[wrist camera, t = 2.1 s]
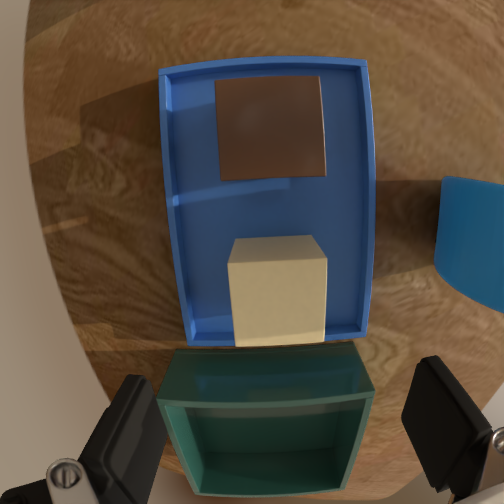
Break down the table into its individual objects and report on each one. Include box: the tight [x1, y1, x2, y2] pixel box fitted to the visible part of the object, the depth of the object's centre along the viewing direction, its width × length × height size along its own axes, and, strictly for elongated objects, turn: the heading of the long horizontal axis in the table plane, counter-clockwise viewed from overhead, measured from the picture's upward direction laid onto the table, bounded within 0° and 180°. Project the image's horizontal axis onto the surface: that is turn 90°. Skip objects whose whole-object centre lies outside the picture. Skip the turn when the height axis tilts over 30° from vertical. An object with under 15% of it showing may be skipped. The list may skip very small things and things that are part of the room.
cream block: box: [227, 235, 327, 347], centre depth 18 cm, size 5×5×5 cm
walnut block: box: [214, 76, 326, 181], centre depth 15 cm, size 5×5×5 cm
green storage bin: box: [156, 341, 375, 497], centre depth 22 cm, size 14×14×6 cm
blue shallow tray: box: [158, 56, 376, 346], centre depth 19 cm, size 19×13×2 cm
